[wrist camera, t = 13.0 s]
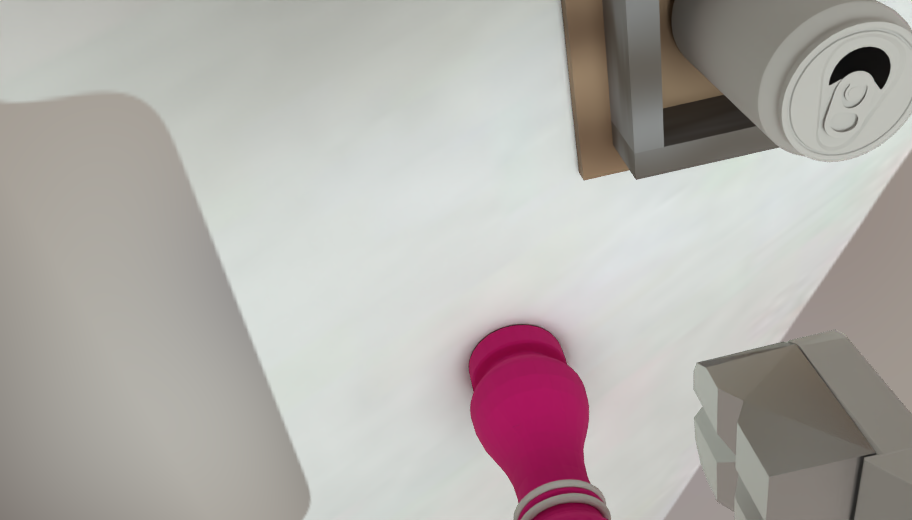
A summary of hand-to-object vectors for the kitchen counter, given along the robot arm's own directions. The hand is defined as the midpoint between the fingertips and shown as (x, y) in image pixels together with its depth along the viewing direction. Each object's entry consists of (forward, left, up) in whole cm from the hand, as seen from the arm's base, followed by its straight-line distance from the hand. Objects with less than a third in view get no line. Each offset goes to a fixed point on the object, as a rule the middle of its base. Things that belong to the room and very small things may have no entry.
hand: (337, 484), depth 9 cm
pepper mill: (+30, +5, -34) cm, 45 cm away
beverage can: (+9, +18, -33) cm, 38 cm away
